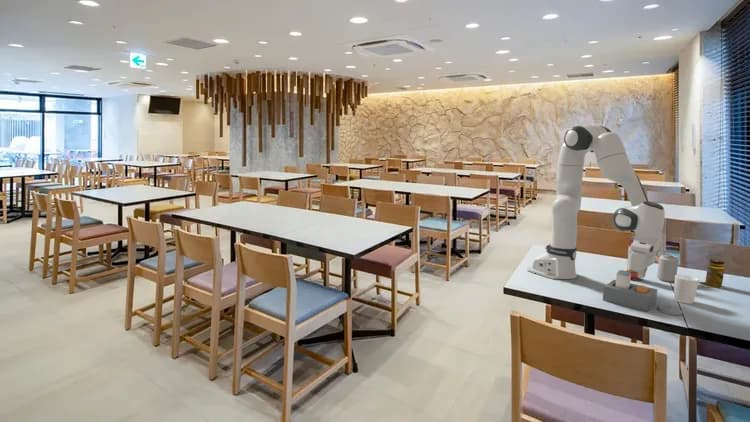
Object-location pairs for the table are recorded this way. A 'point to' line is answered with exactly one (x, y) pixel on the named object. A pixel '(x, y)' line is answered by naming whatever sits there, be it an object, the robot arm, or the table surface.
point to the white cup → (685, 288)
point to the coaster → (670, 310)
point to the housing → (630, 296)
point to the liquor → (633, 273)
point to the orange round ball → (642, 288)
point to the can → (667, 267)
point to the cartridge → (623, 279)
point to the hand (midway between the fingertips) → (641, 277)
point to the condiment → (714, 274)
